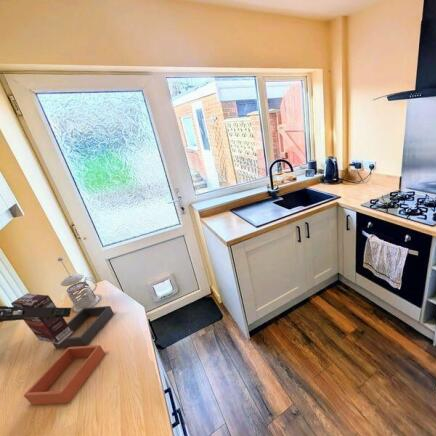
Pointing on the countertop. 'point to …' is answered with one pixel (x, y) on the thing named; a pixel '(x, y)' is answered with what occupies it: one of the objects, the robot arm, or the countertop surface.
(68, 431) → the countertop surface
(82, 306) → the french press
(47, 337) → the supplement box
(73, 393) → the left crate
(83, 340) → the right crate
